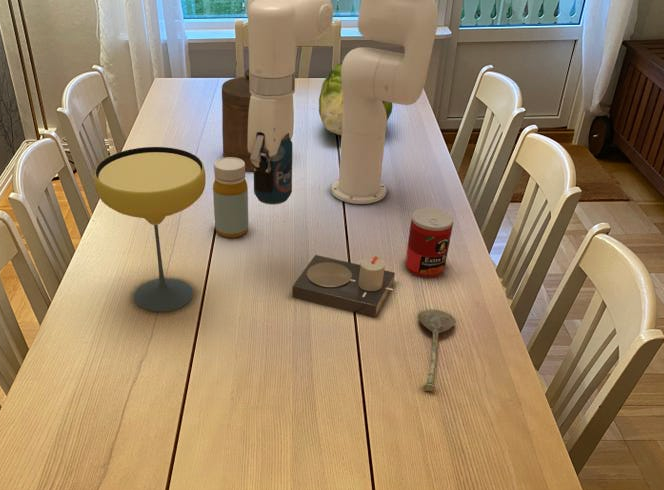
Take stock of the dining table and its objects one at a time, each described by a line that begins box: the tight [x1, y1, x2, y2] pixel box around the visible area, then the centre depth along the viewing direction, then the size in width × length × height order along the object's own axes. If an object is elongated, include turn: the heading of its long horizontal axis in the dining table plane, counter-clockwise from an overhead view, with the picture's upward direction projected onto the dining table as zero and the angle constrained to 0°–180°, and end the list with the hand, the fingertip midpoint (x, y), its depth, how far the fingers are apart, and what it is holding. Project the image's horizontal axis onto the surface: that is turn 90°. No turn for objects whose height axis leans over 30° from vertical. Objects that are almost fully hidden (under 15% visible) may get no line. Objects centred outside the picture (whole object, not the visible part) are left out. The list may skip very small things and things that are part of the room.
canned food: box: [405, 207, 454, 278], centre depth 137 cm, size 8×8×11 cm
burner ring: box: [307, 262, 352, 288], centre depth 134 cm, size 8×8×1 cm
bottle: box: [212, 157, 249, 239], centre depth 147 cm, size 7×7×15 cm
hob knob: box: [358, 255, 386, 291], centre depth 130 cm, size 4×4×5 cm
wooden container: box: [221, 68, 253, 172], centre depth 173 cm, size 15×15×22 cm
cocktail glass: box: [93, 146, 207, 313], centre depth 125 cm, size 18×18×25 cm
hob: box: [291, 254, 396, 318], centre depth 133 cm, size 17×12×3 cm
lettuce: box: [318, 62, 393, 136], centre depth 187 cm, size 19×23×18 cm
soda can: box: [252, 133, 293, 206], centre depth 128 cm, size 7×7×12 cm
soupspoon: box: [417, 309, 457, 392], centre depth 120 cm, size 22×3×7 cm
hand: (272, 181), depth 130 cm, fingers closed on soda can, 7 cm apart
